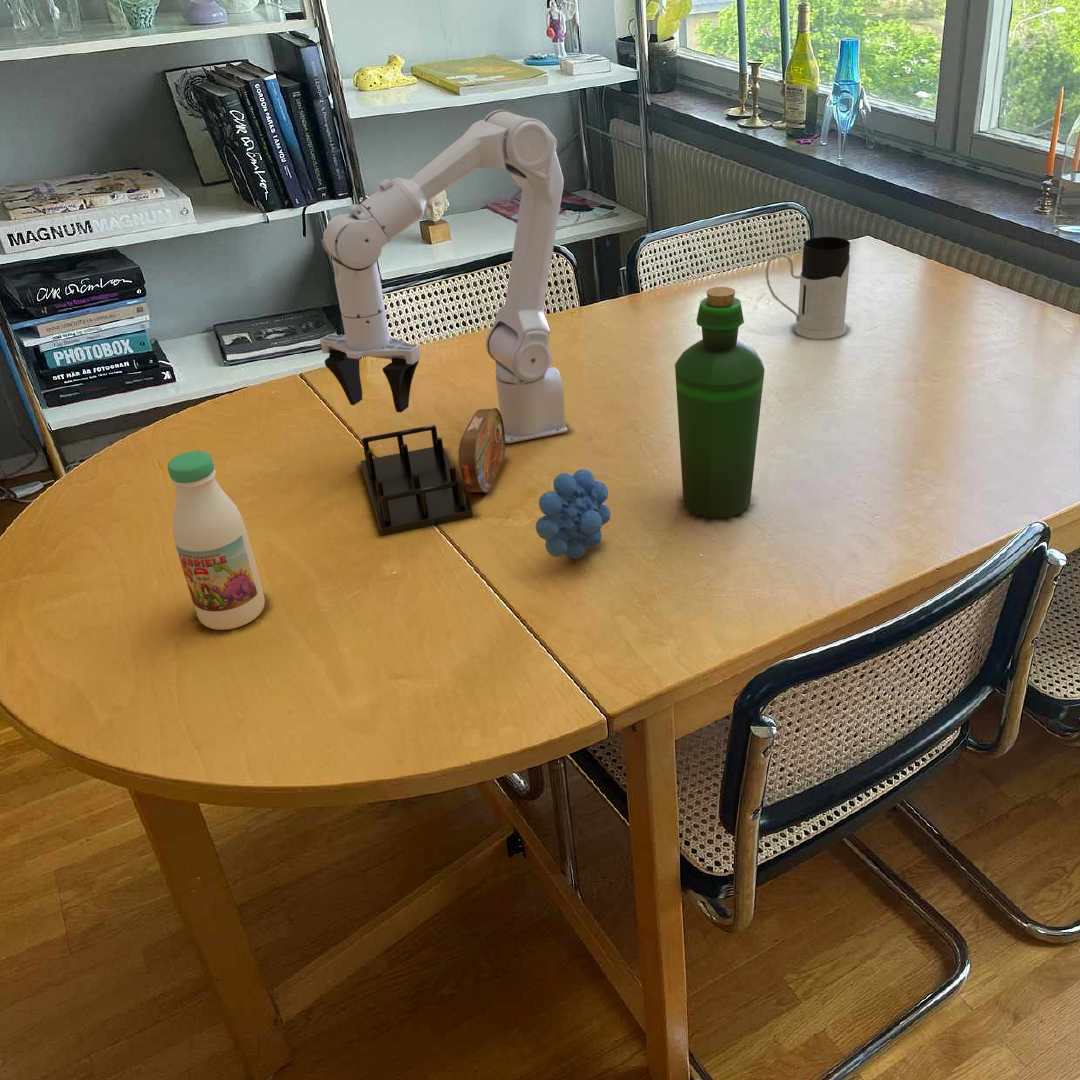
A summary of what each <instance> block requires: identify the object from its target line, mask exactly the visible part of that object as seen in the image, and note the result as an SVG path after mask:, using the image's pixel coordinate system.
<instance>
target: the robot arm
mask: <svg viewBox="0 0 1080 1080" xmlns="http://www.w3.org/2000/svg"><path fill="white" fill-rule="evenodd" d="M557 145H558V139H557V138H556V136H555V135H554V134H553V133H552V132H551V131H550V129H549V128H548V126H547V125H546V124H544V123H543V122H542V121H541V120H539V119H537V118H533V117H525V116H522V115H519V114H516V113H515V114H514V113H513V112H511V111H509V110H506V109H496V110H493V111H491V112H489V113H488V114H486V116H485V117H484V118H483V119H480V120H478V121H475V122H474V123H472V124H471V126H470V127H469V128H468V129H467V130H466V131H465V132H464V134H462V135H461V137H459V138H458V139H456V140H455V141H454V142H453V143H452V144H451V145H449V146H448V147H447V148H446V149H444V150H443V151H442V152H441V153H440V154H438V155H437V156H436V157H435V158H434V159H433V160H431V161H430V162H429V163H428V164H427V165H425V166H424V167H423V168H422V169H420V170H419V171H418V172H417V173H416V174H415V175H413V176H412V177H411V178H410V179H406V178H401V177H394V178H393V179H392V180H389V179H388V178H384V180H382V181H380V182H379V183H378V186H379V188H380V189H379V190H377V191H375V192H374V193H373V194H371V195H370V196H369V197H368V198H366V199H365V200H363V201H362V202H361V203H359V204H356V203H354V204H352V205H351V206H349V208H348V209H349V211H350V213H345V214H343V213H341V214H337V215H335V216H334V217H332V218H331V219H330V220H329V221H328V222H327V224H326V227H325V228H324V231H323V237H322V239H321V244H322V247H323V249H324V250H325V252H326V253H327V255H329V256H330V257H332V259H331V262H332V267H333V273H334V283H335V288H336V293H337V299H338V304H339V311H340V317H341V320H342V321H341V322H342V327H343V331H344V334H327V335H325V336H323V337H322V338H320V339H319V341H320V346H321V352H322V353H323V354H329V355H328V357H327V358H325V359H324V364H325V367H326V368H327V369H328V370H329V371H330V372H331V373H332V374H333V375H334V377H335V378H336V380H337V382H338V383H339V384H340V386H341V388H342V390H343V392H344V395H345V396H346V398H347V400H348V402H349V404H350V406H355V405H356V404H359V402H361V401H362V400H363V387H362V382H361V374H360V373H361V372H360V361H361V360H360V359H361V358H364V357H365V358H368V357H369V358H376V359H383V360H384V359H385V360H391V362H389V363H388V364H386V365H385V366H383V367H382V372H383V374H384V375H385V377H386V379H387V382H388V384H389V387H390V391H391V394H392V400H393V405H394V409H395V411H396V412H397V413H403V412H404V411H405V410H406V409H408V408H409V406H410V405H409V404H410V393H411V387H412V383H413V378H414V375H415V372H416V369H417V367H418V364H419V363H420V360H421V352H420V346H419V345H418V344H412V343H408V342H406V341H403V340H400V339H398V338H395V337H392V336H390V332H389V326H388V319H387V314H386V313H387V311H386V306H385V301H384V295H383V289H382V287H383V286H382V282H381V275H380V272H379V266H378V260H379V258H380V257H381V255H382V251H383V247H384V246H386V245H388V243H390V242H391V241H393V240H394V239H396V238H397V237H398V236H399V235H401V234H402V233H403V232H405V231H406V230H407V229H409V228H410V227H411V226H413V225H414V224H415V223H417V222H418V221H419V220H421V219H422V218H423V217H424V215H425V212H426V207H427V206H426V205H427V203H428V201H430V200H432V199H433V198H435V197H437V196H438V195H439V194H441V193H442V192H444V191H445V190H447V189H448V188H449V187H452V186H453V185H454V184H456V183H457V182H459V181H460V180H462V179H463V178H464V177H467V176H468V175H469V174H471V173H472V172H473V171H476V170H477V169H494V170H495V169H496V170H497V169H498V170H506V171H507V172H508V173H509V175H510V176H511V177H512V179H513V180H514V181H515V183H516V184H517V185H518V187H519V188H520V189H521V194H520V201H519V208H518V215H517V221H516V229H515V235H514V242H513V249H512V255H511V261H510V262H511V263H510V269H509V277H508V284H507V290H506V297H505V303H504V305H503V306H501V308H499V310H497V311H496V313H495V318H494V323H493V324H492V327H491V328H490V330H489V332H488V333H487V336H486V339H485V348H486V352H487V354H488V356H489V357H490V358H491V359H492V360H494V361H495V382H496V391H497V400H498V410H499V411H500V413H501V416H502V420H503V425H504V431H505V444H513V443H517V442H518V443H519V442H523V441H529V440H534V439H538V438H544V437H549V436H554V435H560V434H565V433H567V432H568V427H567V423H566V421H567V420H566V409H565V406H566V405H565V393H564V385H563V379H562V377H561V373H560V371H559V370H558V368H557V367H556V366H551V364H552V359H553V354H552V349H551V346H550V336H551V330H550V327H549V324H548V322H547V319H546V316H545V314H544V307H545V301H546V295H547V289H548V285H549V284H548V282H549V277H550V271H551V264H552V259H553V252H554V246H555V240H556V233H557V228H558V221H559V217H560V210H561V209H560V208H561V203H562V197H563V191H564V181H565V180H564V176H563V172H562V168H561V165H560V161H559V158H558V154H557Z"/></svg>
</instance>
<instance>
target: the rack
mask: <svg viewBox="0 0 1080 1080" xmlns="http://www.w3.org/2000/svg"><path fill="white" fill-rule="evenodd" d="M429 431H430V434H431V440H432V446H430V447H425V448H419V449H413V450H409V448H408V444H406V443H405V442H404V436H408V435H413V434H418V433H424V432H429ZM391 438H396V439H397V445H398V453H393V454H388V455H384V456H378V457H374V456H373V451H372V450H370V449H371V448H370V443H371V442H376V441H381V440H386V439H391ZM361 441H362V448H363V453H364V459H362V460H360V466H361V467H360V468H361V470H362V473H363V477H364V480H365V483H366V487H367V489H368V493H369V496H370V497H369V498H370V500H371V504H372V506H373V510H374V514H375V517H376V521H377V524H378V527H379V530H380V531H379V532H380V535H381V536H387V535H391V534H395V533H400V532H406V531H410V530H416V529H420V528H425V527H430V526H435V525H440V524H444V523H449V522H454V521H458V520H463V519H468V518H473V517H474V512H473V508H472V506H471V504H470V502H469V500H468V497H467V495H466V493H465V491H464V485H463V480H459V477H458V475H457V470H456V466H454V465H452V463H451V461H450V459H449V457H448V454H447V452H446V450H445V447H444V445H443V438H442V437H438V430H437V426H436V424H430V425H424V426H419V427H414V428H408V429H403V430H398V431H393V432H387V433H382V434H376V435H371V436H366V437H363V438H362V439H361Z"/></svg>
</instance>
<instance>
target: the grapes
mask: <svg viewBox="0 0 1080 1080" xmlns="http://www.w3.org/2000/svg"><path fill="white" fill-rule="evenodd" d="M552 486H553V490H554V491H553V490H550V491H546V492H544V493H543V494H541V496H540V497H539V500H538V506H539V507H538V508H539V510H540V511H541V513H542V514H543V515H542V516H541V517H539V518H538V520H537V521H536V523H535V531H536V534H537V535H538V536H539V538H541V539H543V540H545V549H546V551H547V553H548V554H549V555H550V556H552V557H555V558H558V557H562V556H565V557H566V558H568V559H569V560H578V559H580V558H582V557H583V556H584V554H585V553H586V547H587V548H594V547H596V546H597V545H599V544H600V543H601V541H602V537H603V536H602V530H601V529H602V528H603V526H604V525H606V524H608V523H609V521H610V520H611V510H610V507H609V506H608V504H605V502H606V501H607V499H608V498H609V489H608V487H607V485H606V484H605V482H603V481H600V480H596V479H595V475H594V474H593V473H592V471H591V470H589V469H587V468H579V469H578V470H576V471H575V472H574V473H573V474H571V473H569V472H561V473H559V474H557V475H556V477H555V478H554V479H553V485H552Z"/></svg>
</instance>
